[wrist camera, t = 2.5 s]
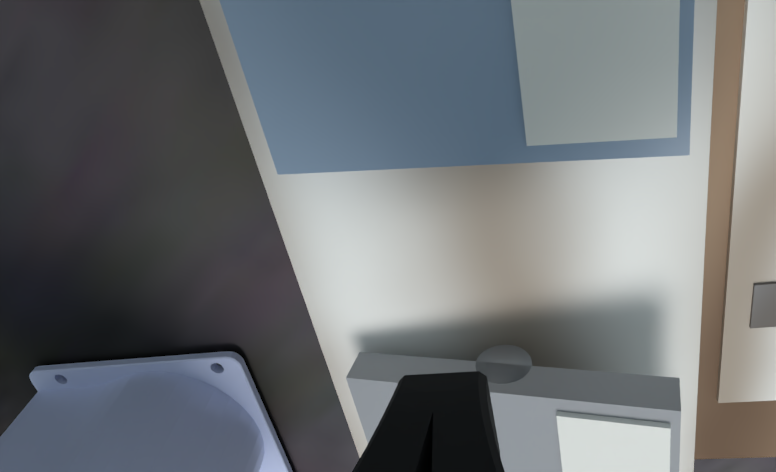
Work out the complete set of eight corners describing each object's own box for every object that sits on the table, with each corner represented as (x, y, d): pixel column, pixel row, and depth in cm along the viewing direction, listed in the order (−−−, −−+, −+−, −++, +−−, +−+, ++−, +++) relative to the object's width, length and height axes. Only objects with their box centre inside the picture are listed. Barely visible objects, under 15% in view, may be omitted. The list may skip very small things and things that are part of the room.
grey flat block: (397, 431, 20) (377, 480, 18) (368, 335, 18) (343, 381, 16) (675, 469, 16) (677, 532, 15) (678, 356, 14) (681, 416, 13)
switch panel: (377, 448, 26) (361, 538, 22) (141, -278, 14) (29, -320, 10) (809, 432, 22) (868, 537, 19) (993, -567, 10) (1244, -775, 7)
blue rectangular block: (311, 141, 15) (274, 178, 13) (258, -38, 13) (207, -18, 11) (685, 115, 11) (689, 159, 10) (691, -128, 10) (699, -118, 8)
